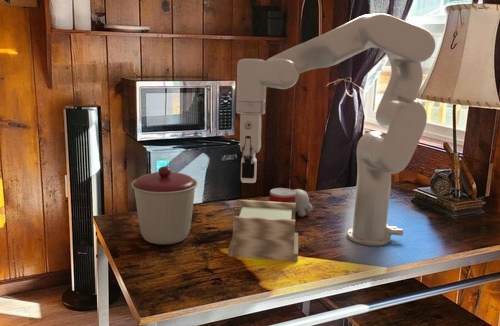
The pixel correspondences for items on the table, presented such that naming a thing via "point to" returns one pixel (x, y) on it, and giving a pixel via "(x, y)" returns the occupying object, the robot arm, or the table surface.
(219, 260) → the table surface
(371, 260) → the table surface
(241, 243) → the stand
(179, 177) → the canister
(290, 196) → the canned food
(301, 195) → the chubby cartoon animal
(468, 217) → the table surface
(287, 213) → the trapdoor
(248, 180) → the pepper shaker
